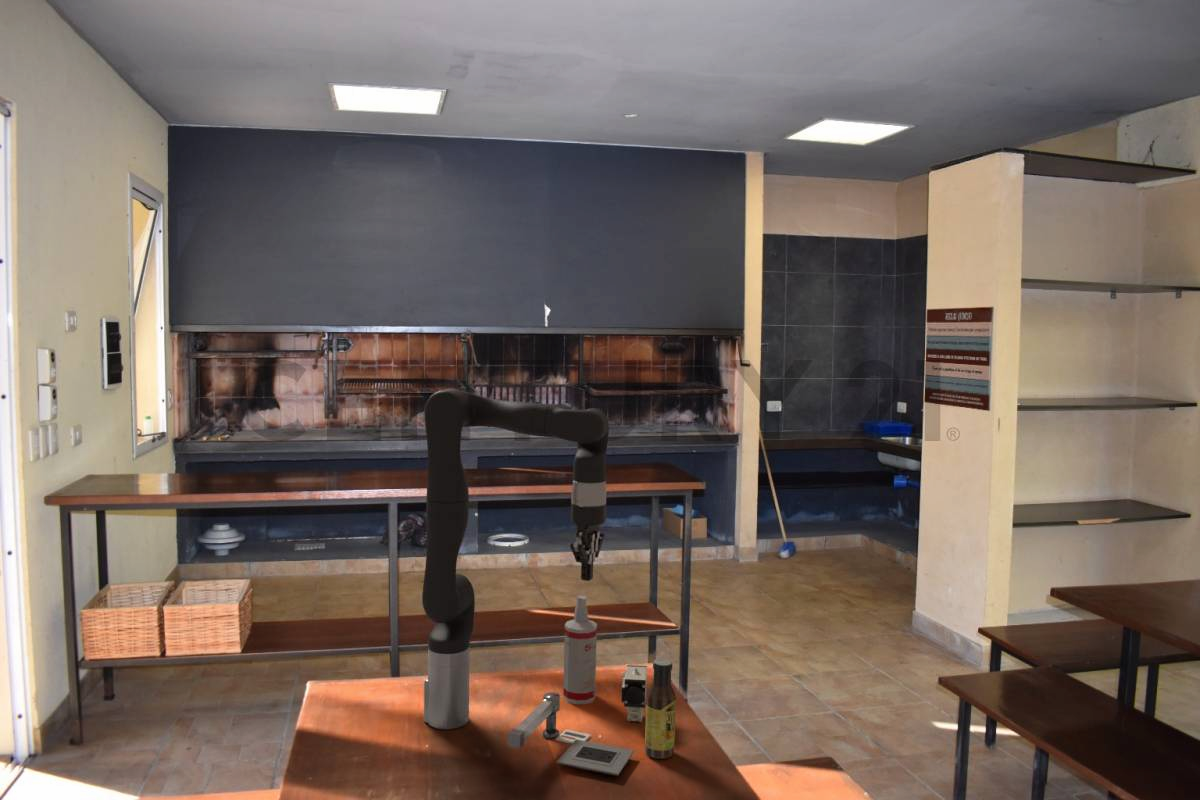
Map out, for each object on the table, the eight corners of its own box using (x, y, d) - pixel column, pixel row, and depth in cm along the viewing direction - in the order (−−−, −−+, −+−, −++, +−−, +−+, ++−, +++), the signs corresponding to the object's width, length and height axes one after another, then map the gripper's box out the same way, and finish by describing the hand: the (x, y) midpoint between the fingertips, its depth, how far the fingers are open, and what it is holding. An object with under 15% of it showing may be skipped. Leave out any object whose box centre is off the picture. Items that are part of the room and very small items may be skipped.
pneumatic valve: (645, 708, 212) (647, 659, 211) (644, 730, 200) (645, 678, 199) (622, 707, 212) (623, 658, 211) (619, 729, 201) (620, 677, 200)
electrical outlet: (634, 759, 188) (634, 748, 187) (617, 783, 178) (618, 772, 178) (575, 748, 192) (575, 737, 192) (556, 771, 182) (556, 760, 182)
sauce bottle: (670, 763, 186) (673, 669, 184) (641, 757, 188) (644, 665, 186) (677, 749, 192) (680, 658, 190) (648, 744, 194) (651, 655, 192)
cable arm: (546, 704, 199) (547, 691, 198) (562, 707, 198) (562, 694, 197) (505, 746, 179) (505, 732, 178) (522, 749, 177) (522, 735, 177)
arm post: (539, 737, 196) (540, 712, 196) (547, 730, 199) (547, 705, 199) (554, 740, 195) (554, 715, 194) (561, 733, 198) (562, 708, 197)
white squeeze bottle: (567, 689, 222) (569, 591, 220) (596, 692, 221) (599, 592, 219) (561, 703, 214) (563, 600, 212) (592, 705, 213) (594, 602, 211)
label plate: (555, 740, 195) (556, 738, 195) (566, 730, 199) (566, 728, 199) (580, 746, 192) (580, 743, 192) (590, 736, 197) (590, 734, 197)
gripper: (586, 494, 201) (584, 570, 203) (559, 504, 189) (557, 585, 191) (616, 497, 198) (614, 574, 199) (591, 508, 186) (589, 590, 187)
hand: (586, 579), depth 195 cm, fingers closed
